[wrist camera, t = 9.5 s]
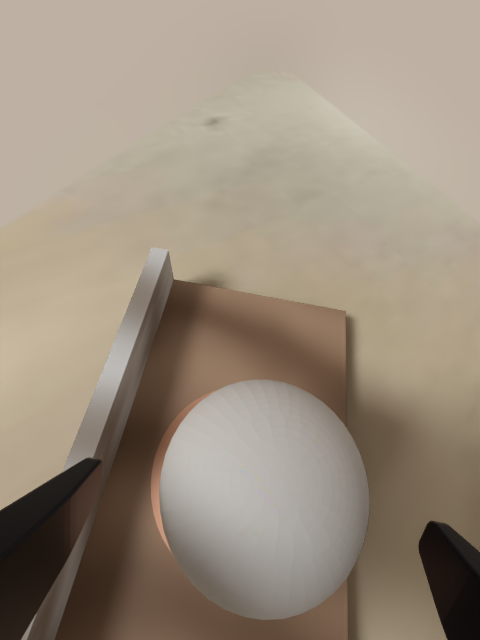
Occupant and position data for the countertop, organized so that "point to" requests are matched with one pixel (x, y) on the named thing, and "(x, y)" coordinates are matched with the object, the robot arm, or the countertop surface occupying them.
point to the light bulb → (264, 499)
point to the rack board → (151, 446)
